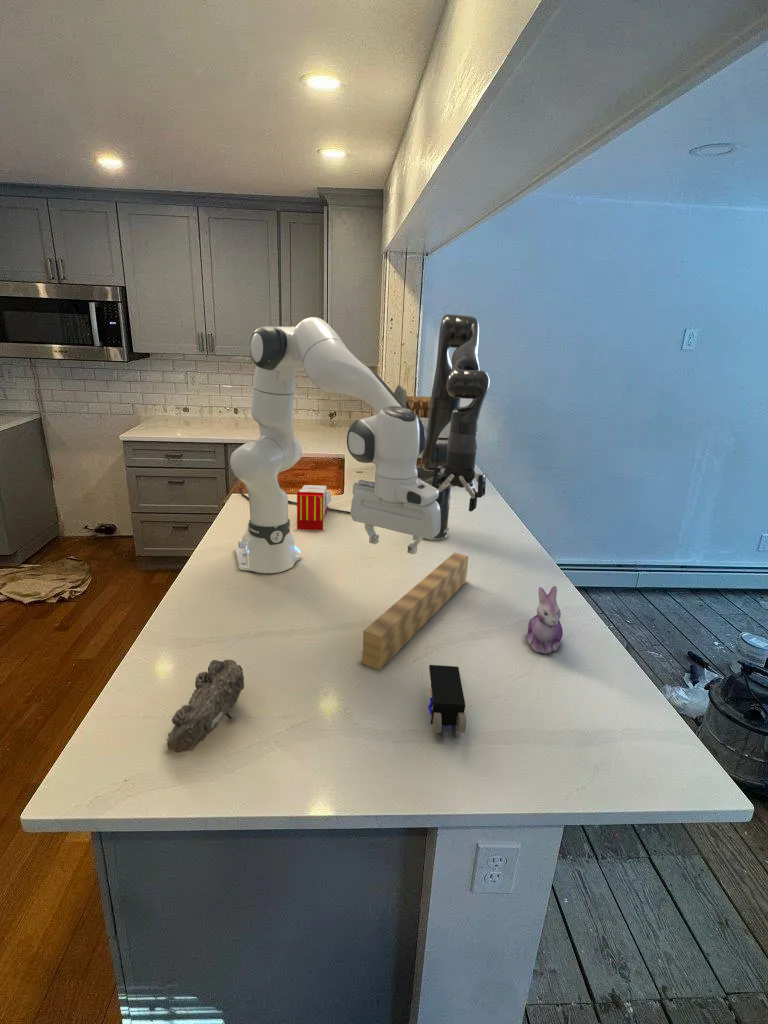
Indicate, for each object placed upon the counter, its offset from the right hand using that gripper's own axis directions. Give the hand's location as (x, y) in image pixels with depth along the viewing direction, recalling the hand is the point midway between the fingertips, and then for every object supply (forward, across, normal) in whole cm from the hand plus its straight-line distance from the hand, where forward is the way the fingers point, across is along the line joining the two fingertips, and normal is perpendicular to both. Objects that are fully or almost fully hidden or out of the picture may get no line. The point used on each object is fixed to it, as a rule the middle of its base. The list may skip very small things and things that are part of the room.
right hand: (456, 507), depth 153 cm
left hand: (-1, 0, -36) cm, 36 cm away
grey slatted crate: (+25, -61, +105) cm, 124 cm away
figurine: (+25, +30, -13) cm, 41 cm away
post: (+25, 0, -18) cm, 31 cm away
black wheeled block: (+25, +20, -50) cm, 60 cm away
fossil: (+25, -17, -74) cm, 80 cm away
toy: (+25, -66, +26) cm, 75 cm away
